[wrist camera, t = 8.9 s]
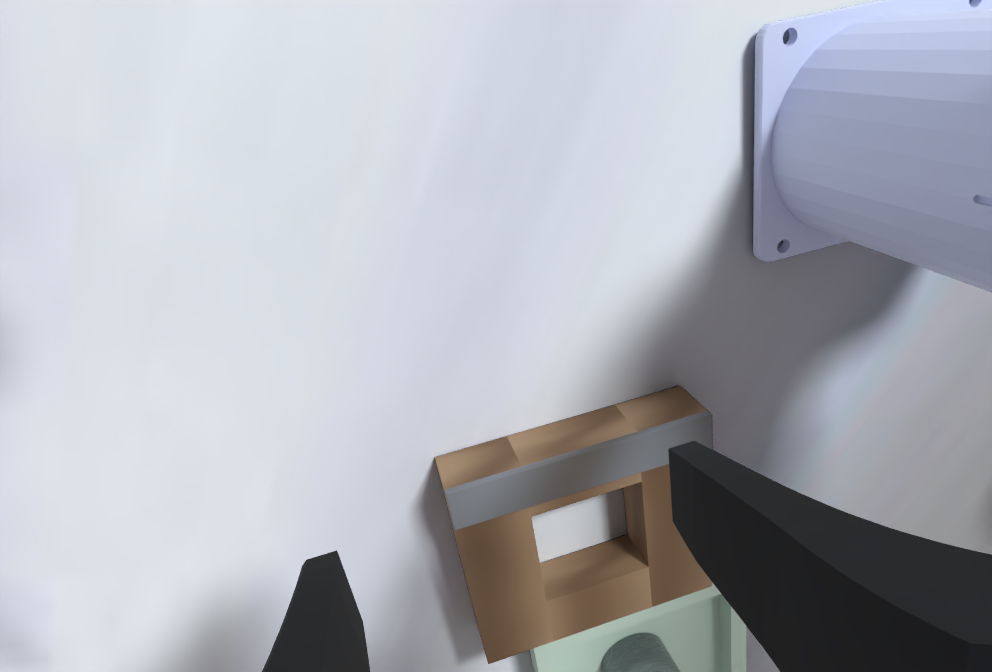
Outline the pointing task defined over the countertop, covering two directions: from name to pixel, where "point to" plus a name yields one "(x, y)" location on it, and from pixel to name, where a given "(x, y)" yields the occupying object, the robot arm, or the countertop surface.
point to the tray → (678, 623)
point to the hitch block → (562, 481)
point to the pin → (639, 655)
